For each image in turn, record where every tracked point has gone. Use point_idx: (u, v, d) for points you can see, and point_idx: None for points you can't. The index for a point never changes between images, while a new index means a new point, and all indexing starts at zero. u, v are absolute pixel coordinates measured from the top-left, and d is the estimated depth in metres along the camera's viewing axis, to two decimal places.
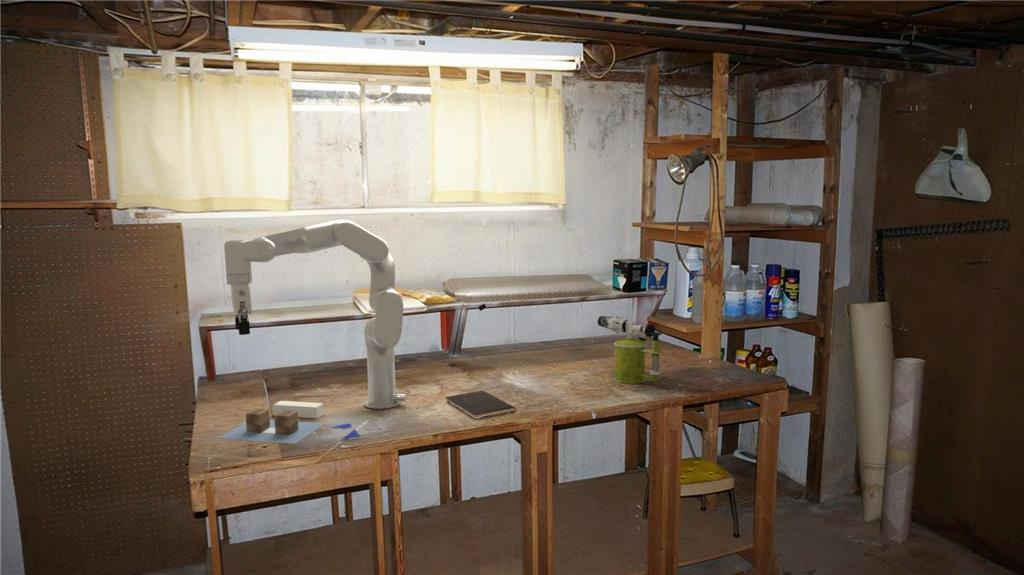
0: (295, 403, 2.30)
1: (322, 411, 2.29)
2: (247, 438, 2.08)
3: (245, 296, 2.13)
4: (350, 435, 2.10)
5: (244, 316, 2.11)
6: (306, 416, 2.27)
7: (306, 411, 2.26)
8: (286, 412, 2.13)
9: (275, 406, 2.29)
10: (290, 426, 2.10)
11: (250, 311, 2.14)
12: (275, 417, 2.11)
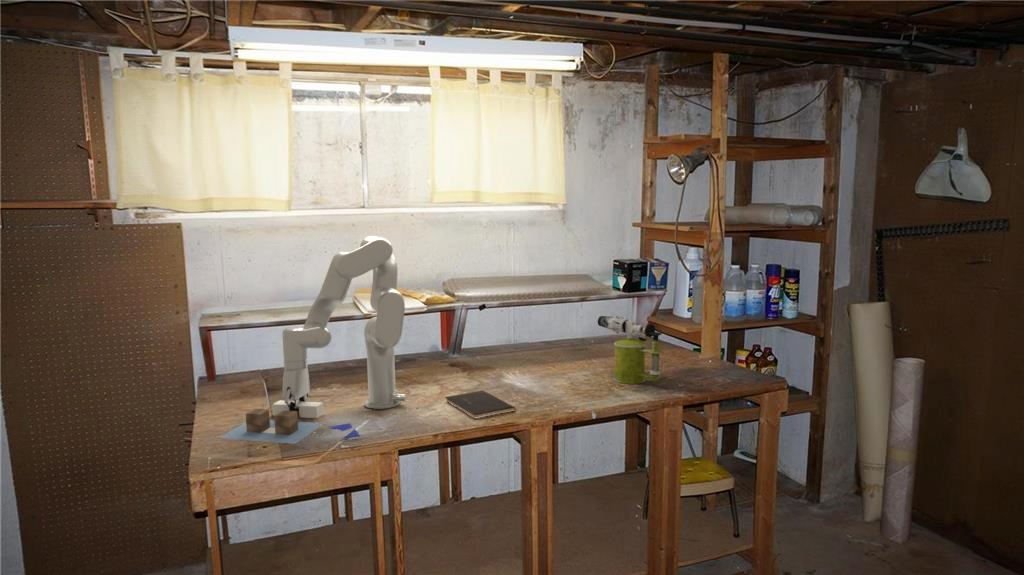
0: None
1: (321, 410, 2.29)
2: (247, 438, 2.08)
3: None
4: (350, 435, 2.10)
5: None
6: (306, 415, 2.27)
7: (306, 411, 2.26)
8: (286, 412, 2.13)
9: (274, 406, 2.28)
10: (290, 426, 2.10)
11: None
12: (275, 417, 2.11)
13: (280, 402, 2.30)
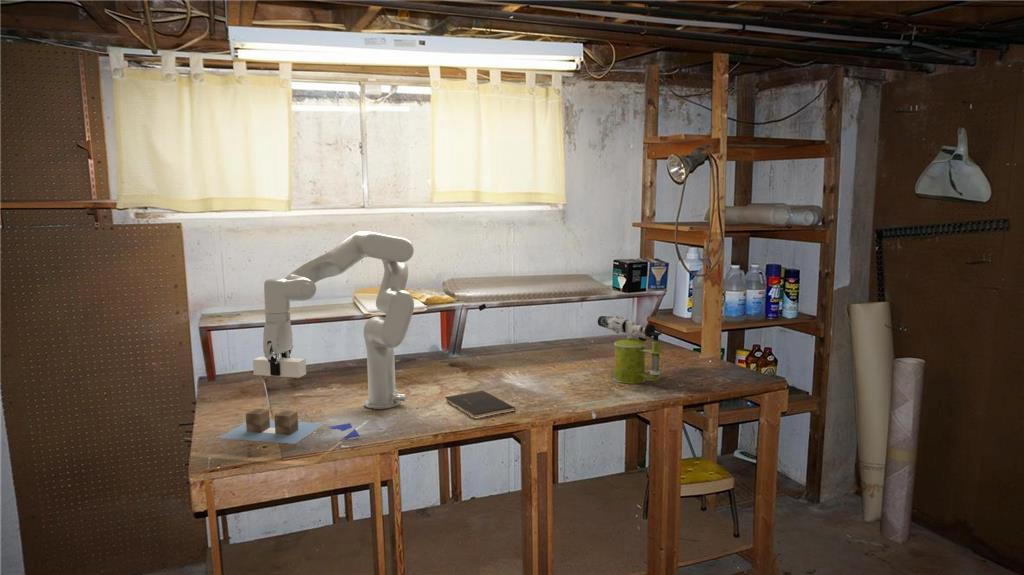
0: None
1: (304, 367, 2.18)
2: (247, 438, 2.08)
3: None
4: (350, 435, 2.10)
5: None
6: (287, 371, 2.15)
7: (287, 367, 2.15)
8: (286, 412, 2.13)
9: (255, 361, 2.17)
10: (290, 426, 2.10)
11: None
12: (275, 417, 2.11)
13: (261, 358, 2.19)
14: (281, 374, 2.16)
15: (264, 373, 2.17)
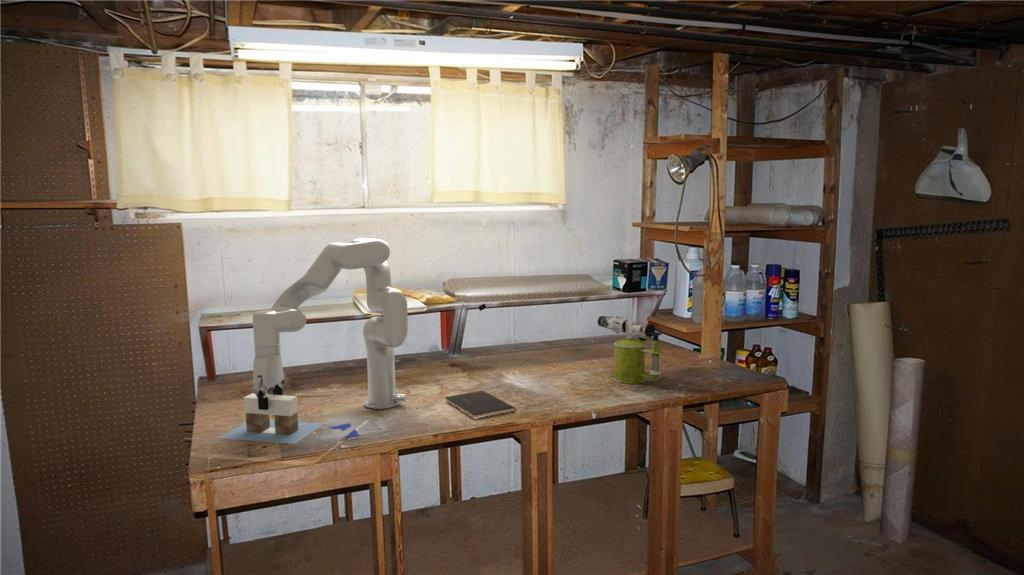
0: (267, 396, 2.14)
1: (295, 404, 2.12)
2: (247, 438, 2.08)
3: None
4: (350, 434, 2.10)
5: None
6: (278, 410, 2.10)
7: (278, 405, 2.10)
8: None
9: (245, 399, 2.12)
10: (290, 426, 2.10)
11: None
12: (275, 417, 2.11)
13: (252, 395, 2.14)
14: (272, 412, 2.11)
15: (255, 411, 2.12)
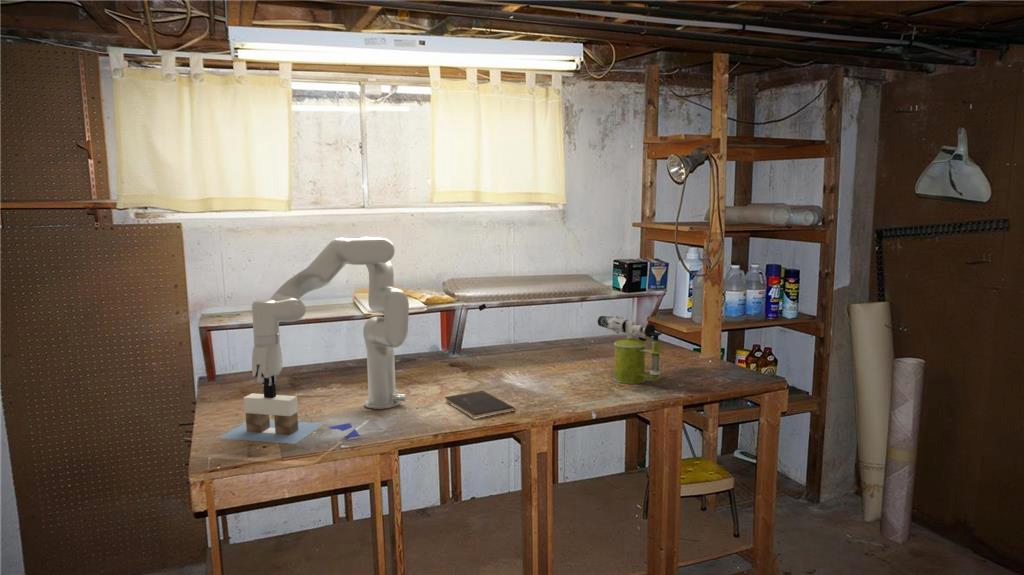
0: None
1: (295, 404, 2.12)
2: (247, 438, 2.08)
3: None
4: (350, 434, 2.10)
5: None
6: (278, 410, 2.10)
7: (278, 405, 2.10)
8: None
9: (245, 399, 2.12)
10: (290, 426, 2.10)
11: None
12: (275, 417, 2.11)
13: (252, 395, 2.14)
14: (272, 412, 2.11)
15: (255, 411, 2.12)
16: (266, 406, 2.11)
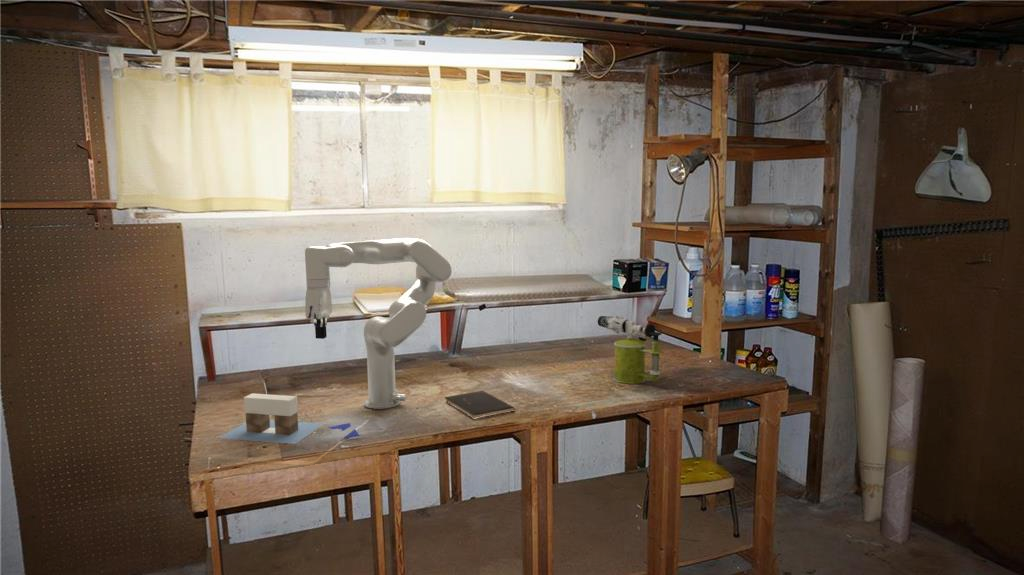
0: (267, 396, 2.14)
1: (295, 404, 2.12)
2: (247, 438, 2.08)
3: None
4: (350, 434, 2.10)
5: None
6: (278, 410, 2.10)
7: (278, 405, 2.10)
8: None
9: (245, 399, 2.12)
10: (290, 426, 2.10)
11: None
12: (275, 417, 2.11)
13: (252, 395, 2.14)
14: (272, 412, 2.11)
15: (255, 411, 2.12)
16: (266, 406, 2.11)
